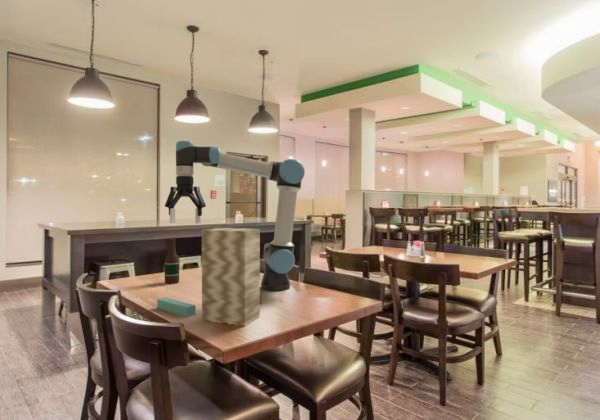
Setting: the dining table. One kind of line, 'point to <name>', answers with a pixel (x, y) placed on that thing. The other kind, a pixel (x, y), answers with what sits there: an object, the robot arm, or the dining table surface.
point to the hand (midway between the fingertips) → (185, 223)
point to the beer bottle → (171, 264)
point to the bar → (176, 307)
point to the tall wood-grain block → (231, 275)
